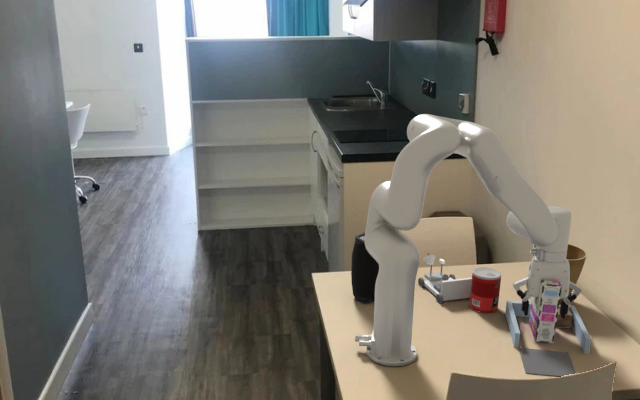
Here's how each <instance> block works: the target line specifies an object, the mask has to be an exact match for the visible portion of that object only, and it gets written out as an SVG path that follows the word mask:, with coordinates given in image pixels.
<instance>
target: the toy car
mask: <svg viewBox="0 0 640 400" xmlns="http://www.w3.org/2000/svg"><path fill="white" fill-rule="evenodd" d="M422 260H423V261H424V262H425V264H427V265H429V266H430V269H429V270H430V272H429V273H424V278H423V277H419V278H418V279H417V285H418V286H420V288H424V287H425V288H426V289H427V290H428V291H430V293H432V294H433V295H434V296H435V300H436V302H437V303H438V304H439V305H442V304H443V303H444V302H447V301H453V300H460V299H461V300H463V299H470V295H471V283H472V277H466V278H457V277H456V276H455V274H453V273H450V274H449V275H448V274H445V273H444V272H443V265H445V264H446V260H445V259H443V258H438V262H439V263H440V271H439V272H433V265H434V264H435V261H436V255H435V254H430V253H427V254H426V256H424V257H423V258H422ZM456 278H457V279H456ZM425 279H426V280H425Z"/></svg>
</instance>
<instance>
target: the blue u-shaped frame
mask: <svg viewBox="0 0 640 400" xmlns="http://www.w3.org/2000/svg"><path fill="white" fill-rule="evenodd" d="M505 305H506V306H505V317H506V322H507V325H508V330H509V333H510V338H511V340H512V344H513V347H514V348H520V340H521V339H520V338H521V331H520V327H519V324H518V321H517V317H520V318H521V317H522V318H529V317H530V309H531V302H530V301H529V309H528V315H527V316H525V315H524V311H522V309H521V308H522V301H517V300H514V301H513V300H506V304H505ZM560 306H561V305H559V308H560ZM568 309H569V310H570V312H571V314H572V322H571V328H572V329H573V332H574V334H575V337H576V339H577V340H578V343H579V345H580V348H581V349H582V351H583V353H584V354H590V350H591V342H592V338H591V336H590V334H589V332H588V330H587V328H586V326H585V324H584V321H583V319H582V318H581V316H580V314H579V312H578V310H577V308H576V305H571V304H570V305H568Z"/></svg>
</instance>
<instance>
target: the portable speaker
mask: <svg viewBox="0 0 640 400" xmlns="http://www.w3.org/2000/svg"><path fill="white" fill-rule="evenodd" d="M350 267H351V271H350V275H351V289H352V295H353V297H354V299H355V300H356V302H357V303H361V304H369V303H370V302H373V301H375V284H376V279H377V276H378V272H379V264H378V263H377V262H376V260H375V259H374V258H373V257H372V256H371V255H370V254H369V252H368V251H367V249H366V246H365V231H364V232H363V233H360V234H357V235H355V236H354V244H353V248H352V253H351V266H350Z"/></svg>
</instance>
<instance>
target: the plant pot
mask: <svg viewBox="0 0 640 400" xmlns="http://www.w3.org/2000/svg"><path fill="white" fill-rule="evenodd" d="M535 247H536V246H535V245H533V244H532V249H533V248H535ZM533 256H535V255H534V254H532V257H533ZM587 256H588V253H587V252H586V250H584V248H581V247H579V246H577V245H574V244H571V243H568V248H567V256H566V259H567V260H568V261H569V265H570V281H571V282H572V283H574V284H576V285H577V282H578V280H579V279H580V275H581V274H582V270H583V268H584V266H585V262H586V259H587ZM573 291H574V290H573V289H571V288H570V287H569V294H571V293H573ZM569 294H568V295H569ZM562 300H563V299H560V303H559V305H561V301H562Z"/></svg>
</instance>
